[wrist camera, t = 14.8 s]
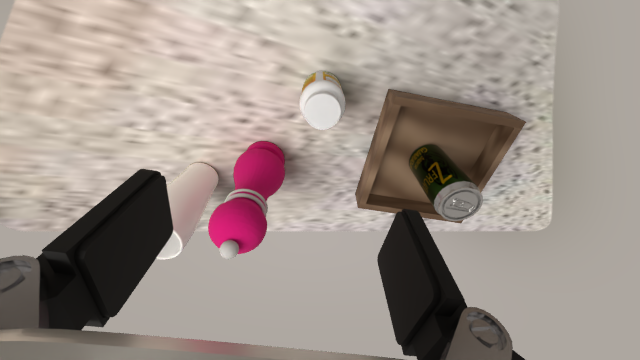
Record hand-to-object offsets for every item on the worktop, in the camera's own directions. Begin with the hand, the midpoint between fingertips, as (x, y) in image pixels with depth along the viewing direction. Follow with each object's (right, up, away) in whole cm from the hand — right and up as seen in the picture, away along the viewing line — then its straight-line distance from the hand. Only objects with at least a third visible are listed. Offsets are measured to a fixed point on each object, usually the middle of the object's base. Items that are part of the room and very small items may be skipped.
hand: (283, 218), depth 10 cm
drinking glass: (-18, +2, +32) cm, 37 cm away
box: (+18, +5, +30) cm, 36 cm away
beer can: (+18, +5, +29) cm, 35 cm away
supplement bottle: (+2, +14, +25) cm, 29 cm away
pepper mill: (-7, +5, +30) cm, 32 cm away
